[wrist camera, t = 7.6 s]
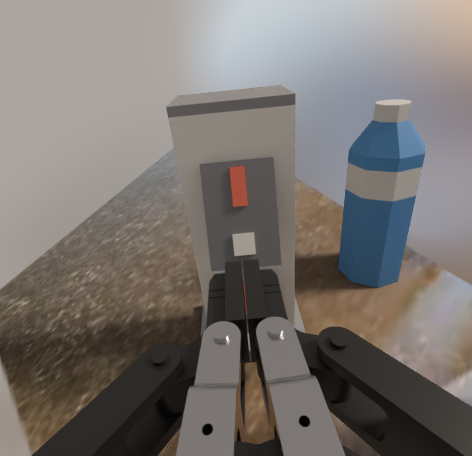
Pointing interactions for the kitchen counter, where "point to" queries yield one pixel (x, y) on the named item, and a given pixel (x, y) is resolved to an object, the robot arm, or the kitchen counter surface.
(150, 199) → the kitchen counter surface
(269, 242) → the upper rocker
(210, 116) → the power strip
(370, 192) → the water bottle
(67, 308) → the kitchen counter surface
